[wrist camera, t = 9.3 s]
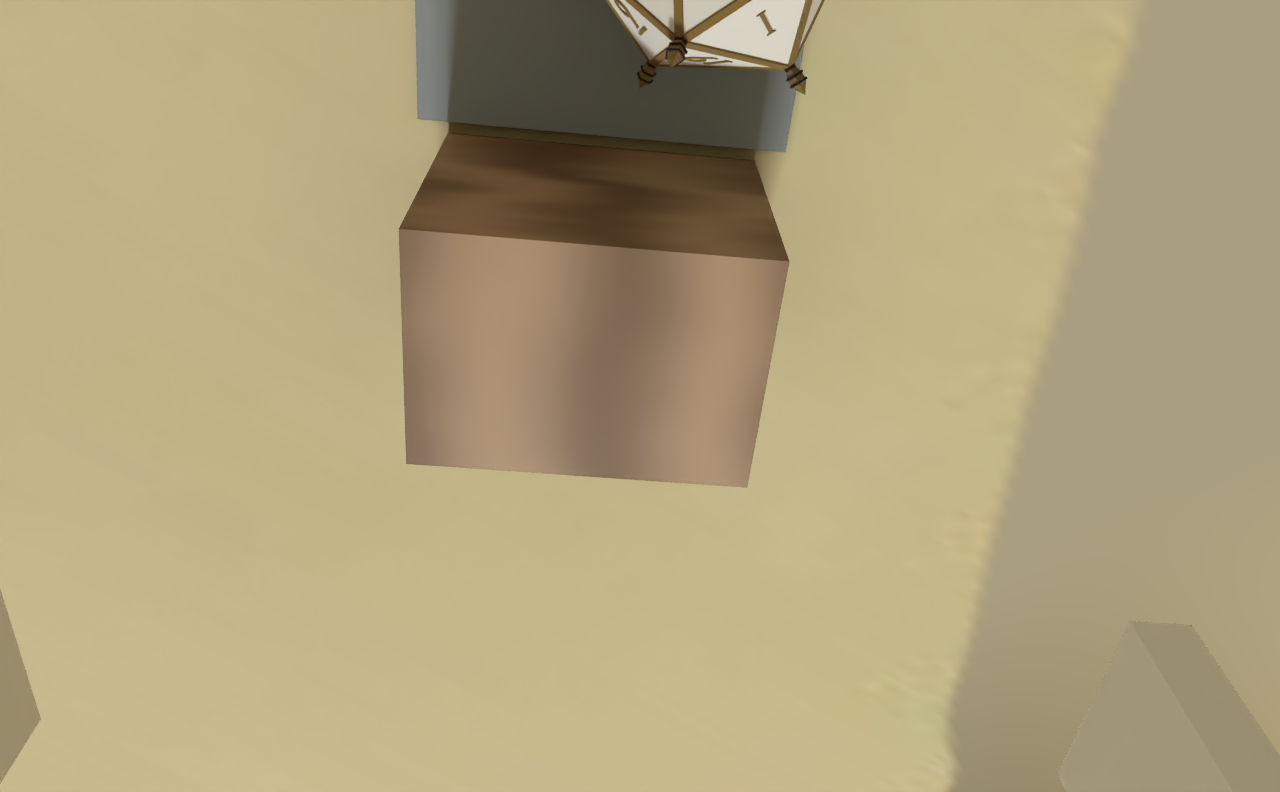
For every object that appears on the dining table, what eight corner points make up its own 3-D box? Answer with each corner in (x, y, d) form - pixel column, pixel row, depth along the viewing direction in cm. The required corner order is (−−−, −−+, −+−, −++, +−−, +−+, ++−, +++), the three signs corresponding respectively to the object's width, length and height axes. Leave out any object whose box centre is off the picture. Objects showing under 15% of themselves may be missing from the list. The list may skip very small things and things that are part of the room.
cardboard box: (448, 332, 40) (406, 463, 32) (448, 133, 36) (398, 228, 28) (723, 354, 40) (747, 487, 33) (754, 160, 36) (789, 261, 28)
